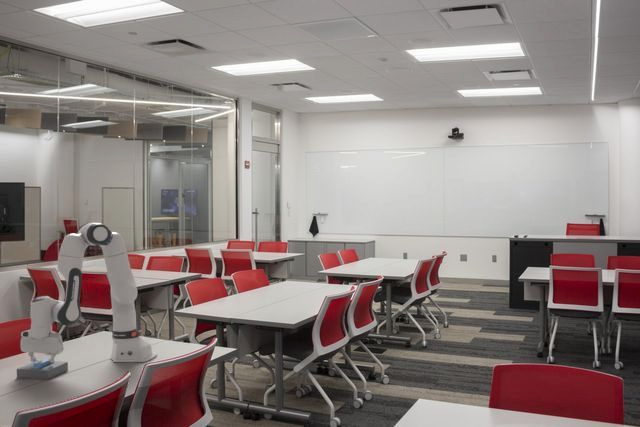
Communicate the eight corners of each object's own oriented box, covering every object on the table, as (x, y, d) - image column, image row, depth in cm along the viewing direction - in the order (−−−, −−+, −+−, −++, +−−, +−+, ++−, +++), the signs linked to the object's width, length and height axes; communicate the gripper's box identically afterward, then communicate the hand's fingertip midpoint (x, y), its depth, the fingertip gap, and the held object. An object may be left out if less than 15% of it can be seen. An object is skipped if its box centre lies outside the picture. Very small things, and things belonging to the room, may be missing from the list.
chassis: (67, 370, 274) (67, 361, 274) (47, 379, 260) (47, 370, 260) (38, 368, 277) (37, 360, 277) (16, 377, 264) (16, 369, 264)
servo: (54, 370, 274) (54, 356, 274) (38, 378, 263) (38, 362, 263) (47, 370, 275) (46, 355, 274) (30, 377, 264) (30, 362, 264)
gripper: (66, 331, 269) (66, 361, 269) (27, 329, 273) (28, 359, 274) (57, 334, 263) (57, 364, 263) (17, 332, 267) (18, 362, 268)
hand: (42, 361), depth 269 cm, fingers open, 8 cm apart
